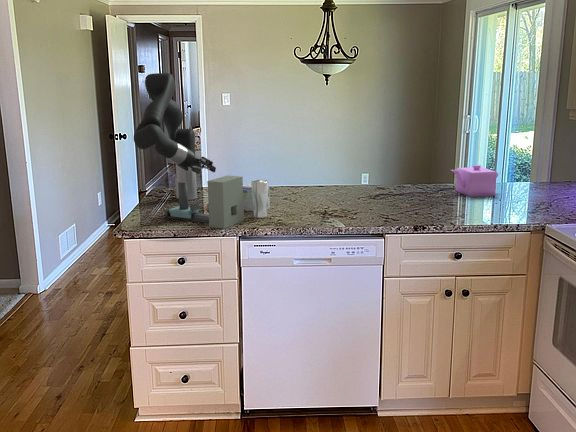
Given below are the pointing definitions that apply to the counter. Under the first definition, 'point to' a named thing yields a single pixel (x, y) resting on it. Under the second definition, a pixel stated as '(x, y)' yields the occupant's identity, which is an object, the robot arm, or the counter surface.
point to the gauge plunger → (207, 208)
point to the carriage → (184, 203)
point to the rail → (195, 217)
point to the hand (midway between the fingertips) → (207, 170)
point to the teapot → (476, 181)
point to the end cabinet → (225, 201)
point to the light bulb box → (248, 198)
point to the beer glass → (259, 198)
